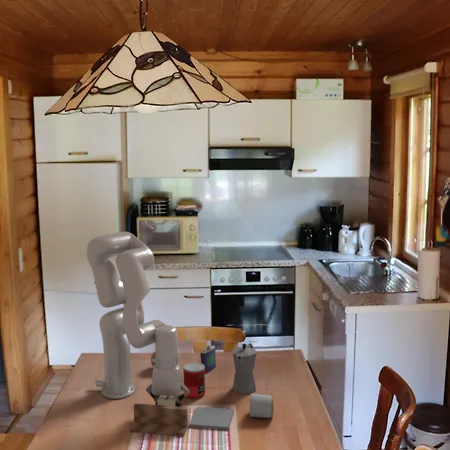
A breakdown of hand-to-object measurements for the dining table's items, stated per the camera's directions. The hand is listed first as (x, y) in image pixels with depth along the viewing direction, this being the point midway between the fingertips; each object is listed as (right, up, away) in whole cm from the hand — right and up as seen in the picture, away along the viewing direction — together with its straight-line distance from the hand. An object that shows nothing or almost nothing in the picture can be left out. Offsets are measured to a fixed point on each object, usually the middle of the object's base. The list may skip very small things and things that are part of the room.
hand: (168, 410), depth 190 cm
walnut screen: (-2, -3, -11) cm, 11 cm away
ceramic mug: (+32, -1, -1) cm, 32 cm away
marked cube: (0, -1, 0) cm, 1 cm away
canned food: (+8, +1, +14) cm, 16 cm away
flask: (+13, +5, +35) cm, 38 cm away
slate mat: (+15, -1, -4) cm, 16 cm away
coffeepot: (+27, +2, +19) cm, 33 cm away
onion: (-6, +5, +36) cm, 37 cm away
